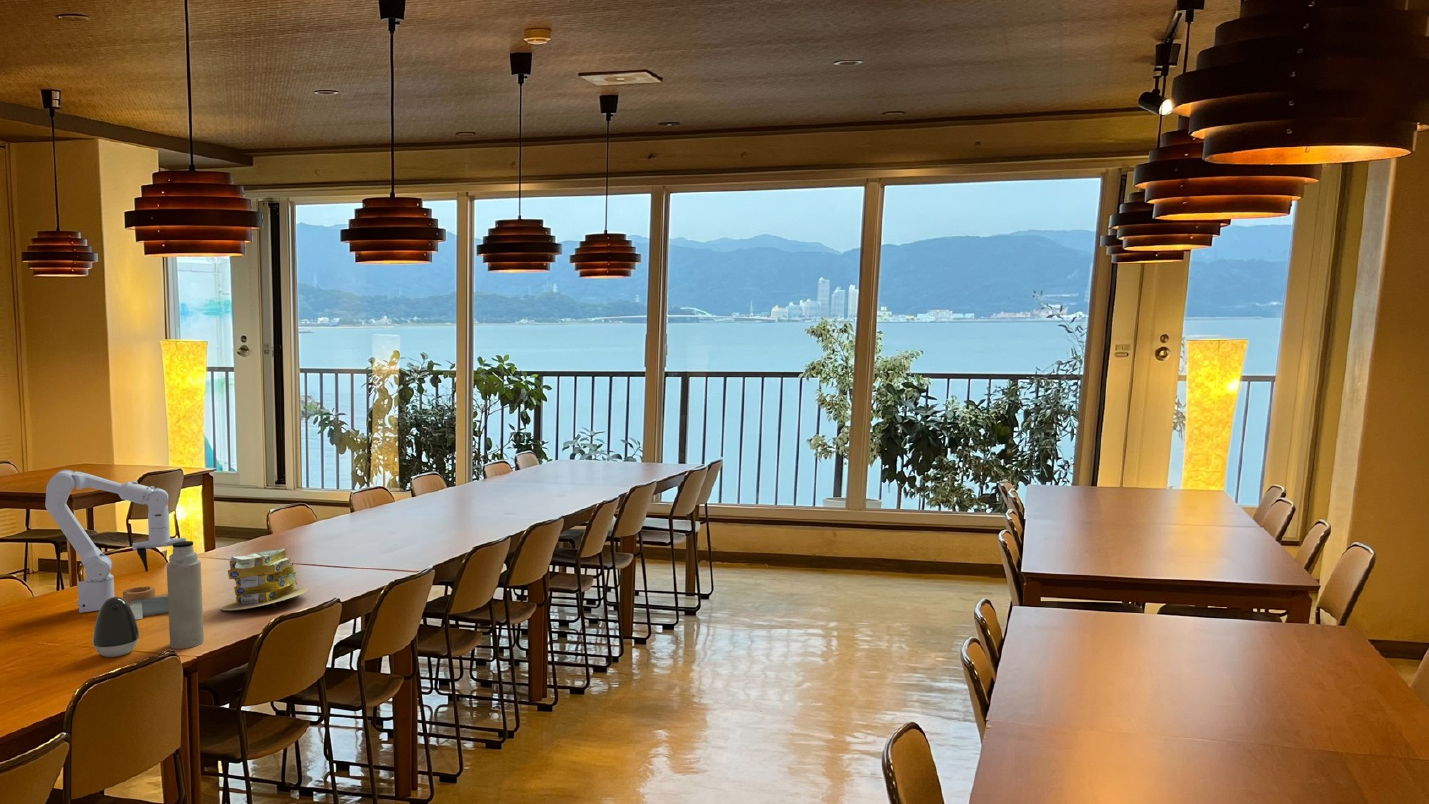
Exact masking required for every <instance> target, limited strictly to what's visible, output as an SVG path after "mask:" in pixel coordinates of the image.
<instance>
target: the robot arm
mask: <svg viewBox="0 0 1429 804" xmlns="http://www.w3.org/2000/svg"><path fill="white" fill-rule="evenodd" d="M75 487H76V490H78V491H79V490H83V489H86V488H92V489H96V490H99V491H105V492H109V493H113V494H117V495H118V496H119V498H120V500H124V501H128V502H131V503H136V504H139V505H147V506H148V507H147V509H148V513H147V528H148V529H147V530H148V540H145V541H140V542H139V541H138V542H133V543H132V551H136V552H137V554H138V556H139V558H140V559H141V562H142V564H143V567H144V570H145V571H144V572H145V573H148V572H149V568H148V567H149V566H148V560H147V558H148V557H147V549H154V548H163V547H173V546H172V544H173V543H176V542H181V541H187V538H186V537H178V538H177V537H176V538H175V537H174V538H171V534H170V533H171V531H170V530H171V529H170V512H169V506H168V503H169V494H168V492H167V491H166V490H164V489H162V488H161V487H155V486H154V485H151V486H147V485H143V484H141V483H140V484H139V483H138V481H137V480H133V481H125V482H124V483H119V482H117V481H114V480H111V479H110V480H109V479H107V478H104V477H100V476H96V475H93V474H90V473H86V472H82V471H73V470H71V469H61V470H59V471H58V472H56V474H54V475H53V476H52V477H50V479H49V481H48V483H47V485H46V491H45V492H46V493H45V504H44V507H45V508H46V511H47V512H48V513H49V515H50V516H51V518H52V519H53V520H54V522H55V524H56V525H57V526H58V527H59V529H60V530H61V532H62V533H63V535H64V536H65V537H66V539H67V540H68V543H70V544H71V546H72V547H73V549H74V550H75V552H76V553H77V554H78V555H79V557H80V561H81V564H82V565H83V567H84V570H85V571H84V572H85V576H86V578H85V580H83V581H78V582H77V592H78V593H77V596H78V598H77V599H78V600H77V607H78V613H79V614H80V613H81V614H82V613H88V612H97V611H100V608H101V607H102V605H103V603H104V602H105V601H106V600H107V599H109V598H112V597H115V581H114V575H113V574H111V570H112V568H113V560H112V559H111V558H110V556H108V555H105V554H104V553H103V552H102V550H101V549H100V548H98V547H97V546H96V544H95V543H94V542H93V540H92V539H91V537H90V536H89V535H88V533H87V532H86V530H85V529H84V527H83V526H82V524H81V523H80V521H79V520H78V518H77V517H76V516H75V515H74V513H73V512H72V510H71V509H70V508H69V506H68V504H67V501H68V499H69V496H71V492H72V491H73V490H74V489H75Z"/></svg>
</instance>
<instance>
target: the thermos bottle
mask: <svg viewBox="0 0 1429 804" xmlns="http://www.w3.org/2000/svg"><path fill="white" fill-rule="evenodd" d="M193 545H194V541H193V540H192V541H191V540H186V541H181V542H176V543H173V544H172V546H171V547H172V554H170V555H169V559H168V561H169V562H168V563H167V564H166V578H167V579H166V581H167V583H166V584H167V593H168V608H169V613H168V626H169V627H168V628H169V629H168V630H169V631H168V632H169V646H170V648H172V649H181V650H182V649H189V648H193V647H197V646H200V645H202V644H204V642H205V640H204V639H205V637H204V635H205V634H204V633H205V631H204V614H203V612H204V610H203V593H202V591H203V590H202V588H203V587H202V567H201V560H199V559H198V557H199V555H198V552H196V551H194V546H193Z"/></svg>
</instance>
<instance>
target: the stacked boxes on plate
mask: <svg viewBox="0 0 1429 804" xmlns="http://www.w3.org/2000/svg"><path fill="white" fill-rule="evenodd" d="M294 564H295V561H293V562H292V563H291V558H288V557H287V549H286V548H280V549H271V550H263V551H258V552H252V553H249V554H247V555H238V556H231V557H230V560H229V567H230V569H227V575H228V579H229V580H234V581H235V585H236V586H234V587H233V588H234V595H235V599H236V600H234V601H231V602H228V603H226V604H224V605H222V606H221V608H220V609H221V611H239V610H247V609H252V608H256V607H262V606H265V605H270V604H272V605H273V607H274V608H276V604H275V603H277V602H281V601H286V600H288V599H289V600H290V599H291V598H294V597H297V596H300V595H302V594H304V593H307V592H308V591H309V590H310V589H309V587H307V586H306V587H304V586H297V587H296V586H294V584H296V585H298V580H297V574H296V573H297V571H295V567H294Z"/></svg>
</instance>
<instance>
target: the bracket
mask: <svg viewBox="0 0 1429 804" xmlns="http://www.w3.org/2000/svg"><path fill="white" fill-rule="evenodd" d="M161 596H168V592H167V593H163V594H160V595H156V588H155V587H154V586H149V585H148V586H138V587H130V588H127V589H125V590H123V591H122V598H123V599H124V600H125V601H126V602H127V603H128V604H129V606H130V600H138V599H146V598H153V597H161Z"/></svg>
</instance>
